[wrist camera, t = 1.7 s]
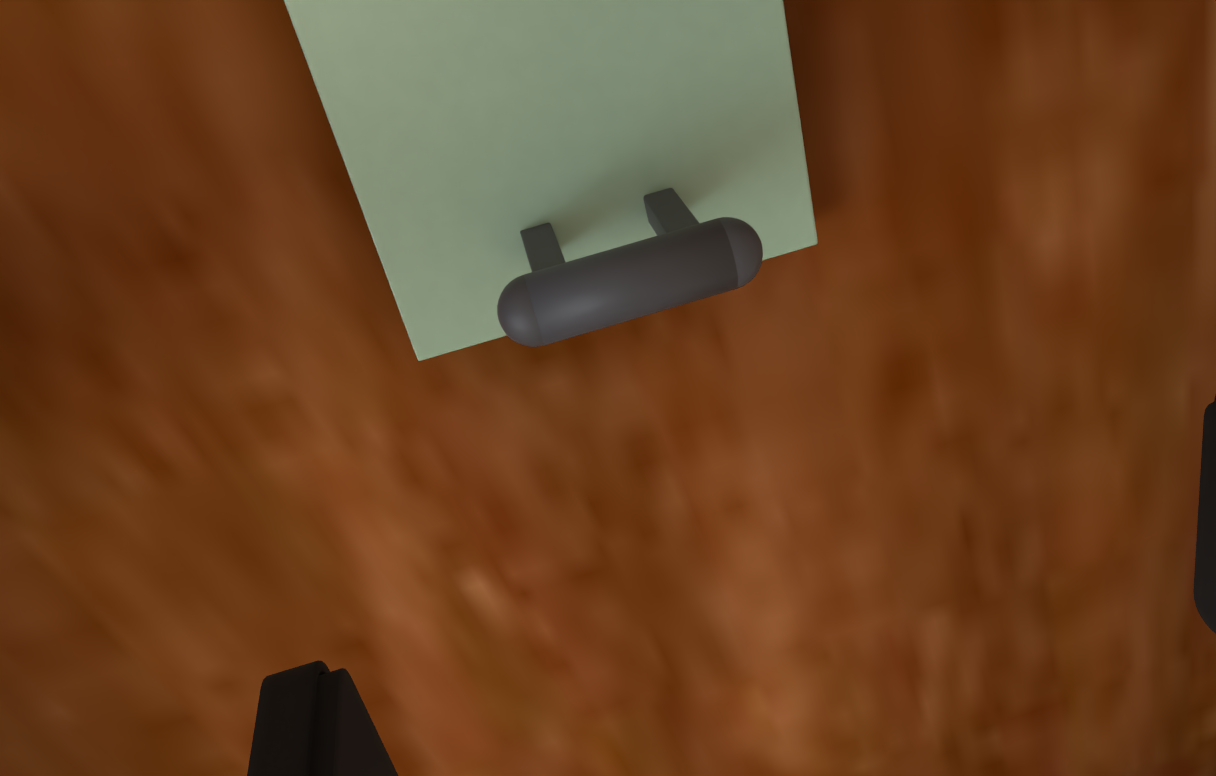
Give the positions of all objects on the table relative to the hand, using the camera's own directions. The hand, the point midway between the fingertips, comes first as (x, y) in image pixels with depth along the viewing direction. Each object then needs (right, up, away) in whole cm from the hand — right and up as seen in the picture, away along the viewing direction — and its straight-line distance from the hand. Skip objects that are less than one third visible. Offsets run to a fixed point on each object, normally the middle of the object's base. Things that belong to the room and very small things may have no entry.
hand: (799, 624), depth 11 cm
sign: (-3, +11, +14) cm, 18 cm away
